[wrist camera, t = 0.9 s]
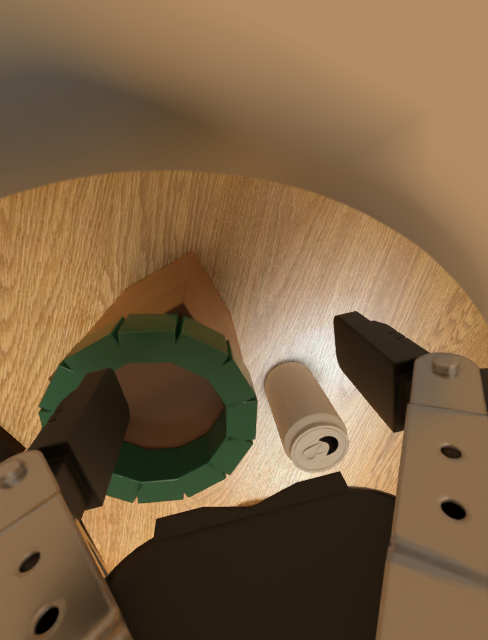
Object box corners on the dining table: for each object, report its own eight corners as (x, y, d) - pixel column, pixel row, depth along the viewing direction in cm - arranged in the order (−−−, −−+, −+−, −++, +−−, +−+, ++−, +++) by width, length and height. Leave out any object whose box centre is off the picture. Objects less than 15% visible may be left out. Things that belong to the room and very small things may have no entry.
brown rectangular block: (124, 289, 33) (47, 379, 16) (192, 250, 32) (183, 302, 16) (168, 349, 36) (141, 475, 20) (231, 314, 36) (257, 414, 19)
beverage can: (318, 388, 41) (362, 458, 30) (275, 409, 41) (302, 486, 30) (300, 350, 39) (341, 411, 27) (255, 373, 39) (276, 442, 28)
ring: (18, 374, 16) (-12, 402, 14) (190, 276, 15) (188, 289, 13) (137, 492, 20) (129, 529, 18) (278, 418, 19) (288, 447, 17)
